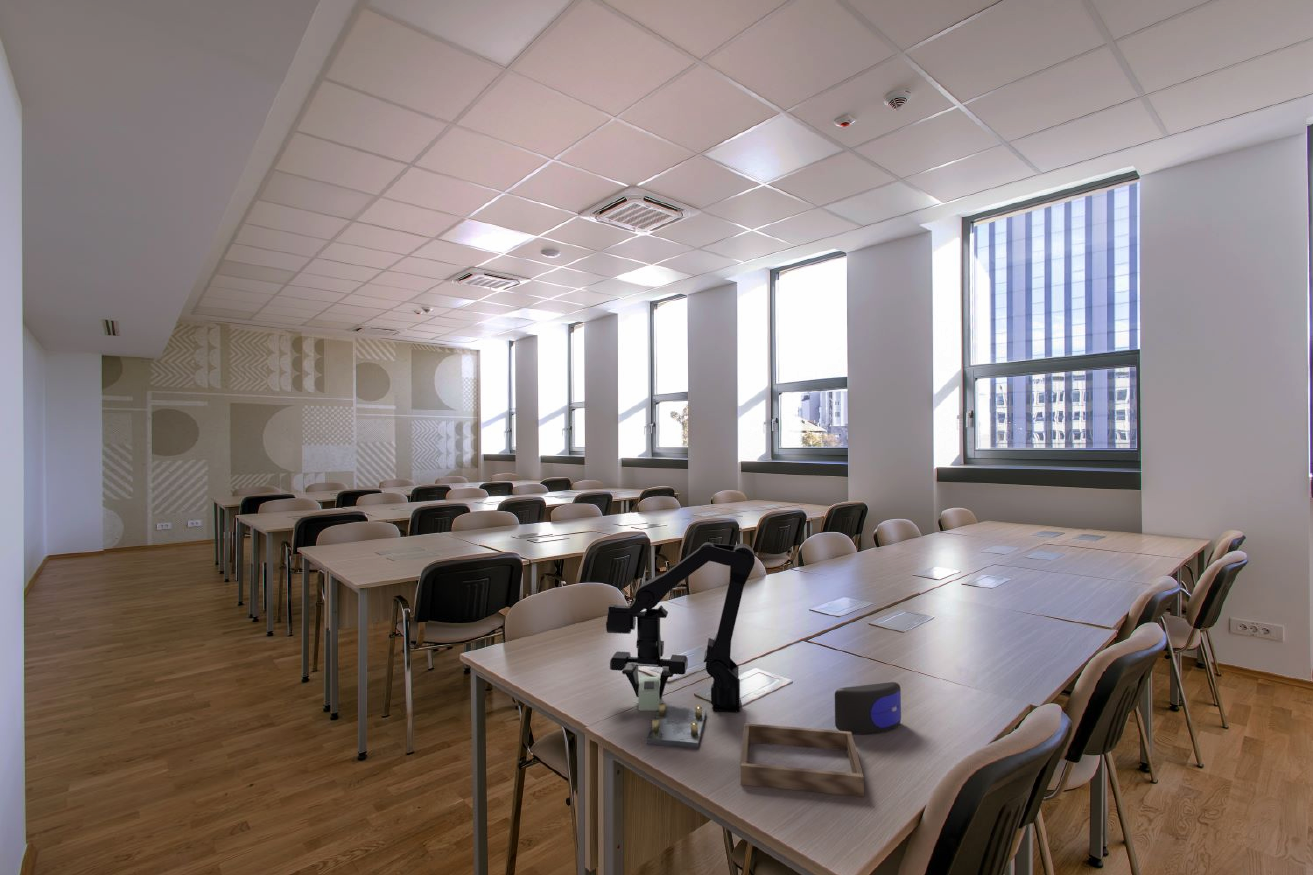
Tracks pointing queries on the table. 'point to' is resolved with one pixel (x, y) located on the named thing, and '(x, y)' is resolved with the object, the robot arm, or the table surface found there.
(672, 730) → the chassis
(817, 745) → the storage tray
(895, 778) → the table surface
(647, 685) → the pale green block
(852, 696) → the black and blue case
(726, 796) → the table surface
